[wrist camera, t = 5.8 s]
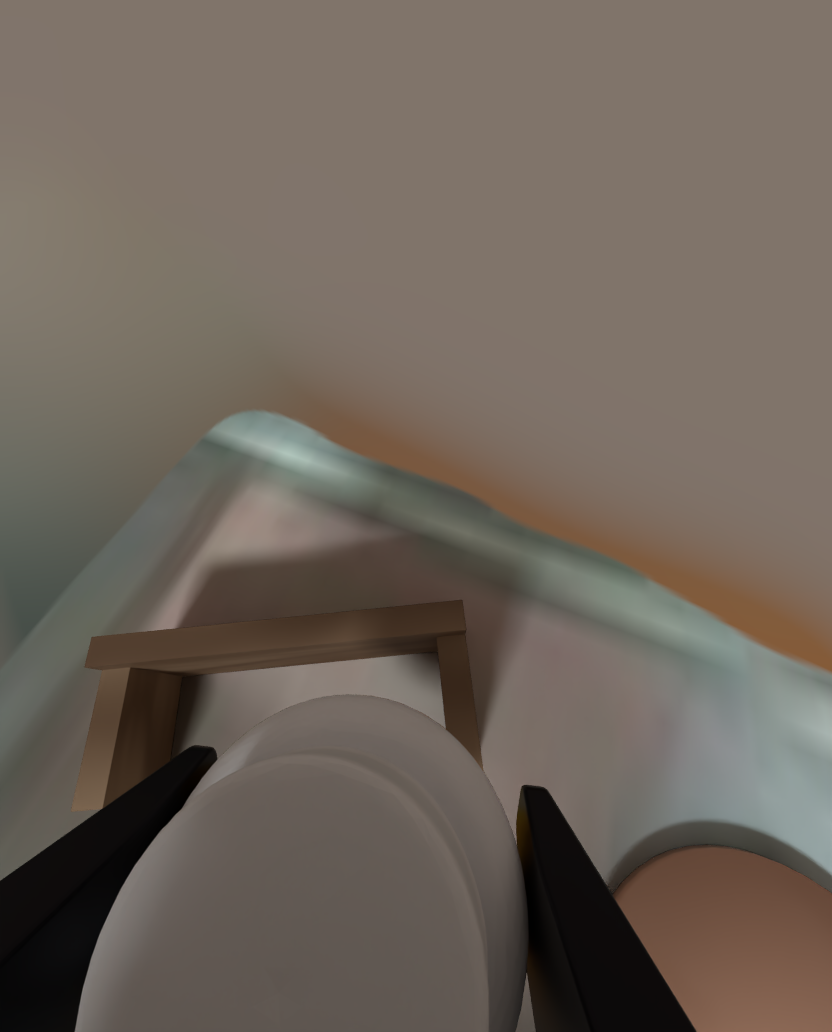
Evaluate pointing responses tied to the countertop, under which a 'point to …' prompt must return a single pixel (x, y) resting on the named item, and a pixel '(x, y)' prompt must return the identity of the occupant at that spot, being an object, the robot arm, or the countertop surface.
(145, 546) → the countertop surface
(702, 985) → the terracotta saucer
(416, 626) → the open wooden frame
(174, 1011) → the supplement bottle
